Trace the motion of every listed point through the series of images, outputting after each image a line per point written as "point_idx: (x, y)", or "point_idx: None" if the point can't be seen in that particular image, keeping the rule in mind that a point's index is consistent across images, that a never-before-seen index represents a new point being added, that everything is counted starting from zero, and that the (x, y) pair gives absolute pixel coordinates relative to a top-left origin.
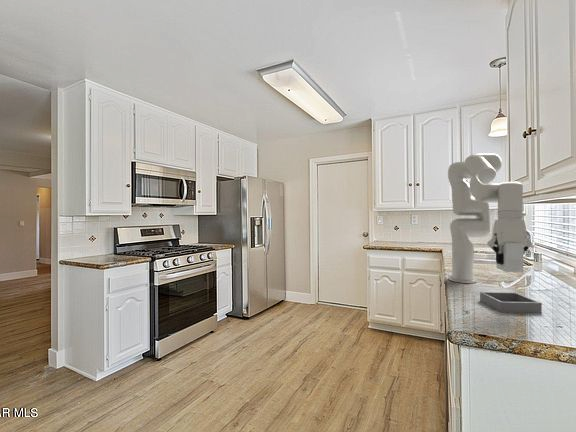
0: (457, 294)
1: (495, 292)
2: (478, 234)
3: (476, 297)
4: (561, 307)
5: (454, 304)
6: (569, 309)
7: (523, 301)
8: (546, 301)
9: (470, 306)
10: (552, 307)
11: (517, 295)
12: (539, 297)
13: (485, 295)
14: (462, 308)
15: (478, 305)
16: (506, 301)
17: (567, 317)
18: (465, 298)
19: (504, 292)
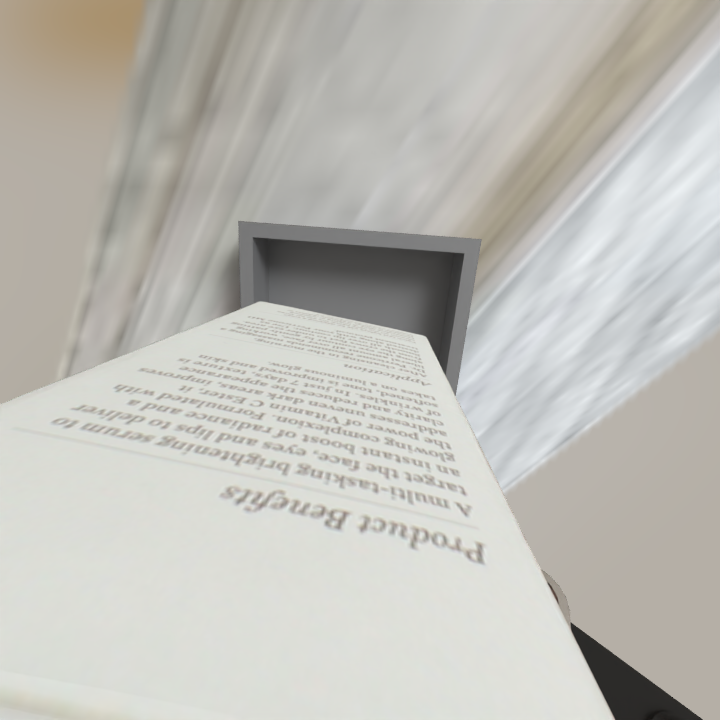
0: (181, 55)
1: (337, 234)
2: None
3: (276, 142)
4: (623, 357)
5: (92, 291)
6: (629, 388)
7: (446, 329)
8: (660, 243)
9: (161, 326)
10: (574, 355)
11: (458, 276)
12: (715, 143)
13: (241, 289)
14: (111, 355)
15: (208, 311)
16: (389, 267)
17: (499, 482)
18: (195, 167)
19: (400, 236)
